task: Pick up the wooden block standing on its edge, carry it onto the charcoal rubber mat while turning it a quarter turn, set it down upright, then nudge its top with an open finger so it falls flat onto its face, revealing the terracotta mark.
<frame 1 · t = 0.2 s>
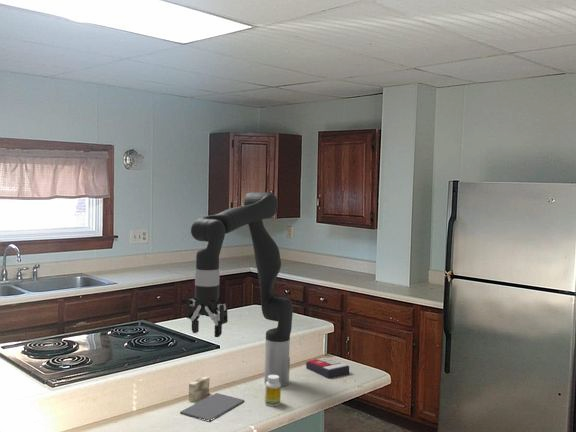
hand: (206, 334, 177), 29 cm above the table, fingers open, 8 cm apart
supplement bottle: (272, 404, 197), on the table
red and black box: (327, 372, 233), on the table
wooden block: (199, 396, 201), on the table
mat: (213, 407, 192), on the table
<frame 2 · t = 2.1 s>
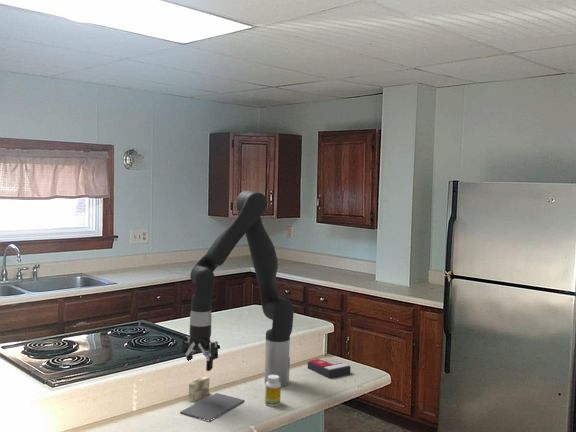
hand: (199, 368, 200), 10 cm above the table, fingers open, 8 cm apart
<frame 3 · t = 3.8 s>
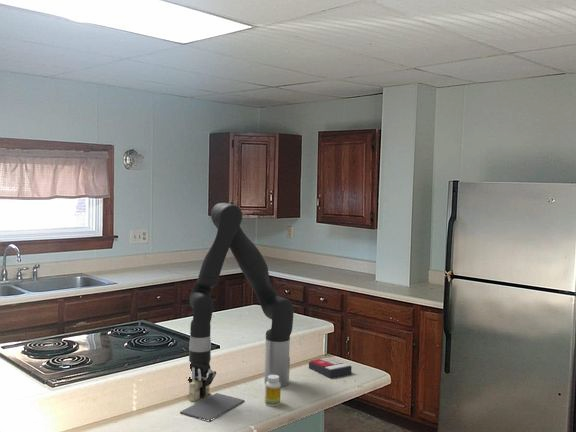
hand: (199, 395, 201), 0 cm above the table, fingers closed on wooden block, 2 cm apart
wooden block: (199, 396, 201), on the table, touching gripper
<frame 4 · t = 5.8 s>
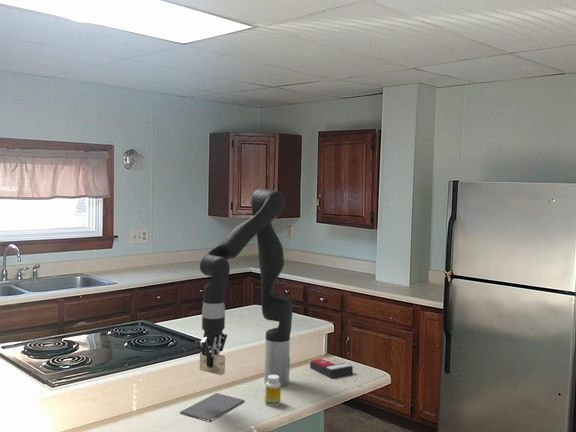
hand: (212, 365, 190), 15 cm above the table, fingers closed on wooden block
wooden block: (212, 371, 190), point 13 cm above the table, touching gripper
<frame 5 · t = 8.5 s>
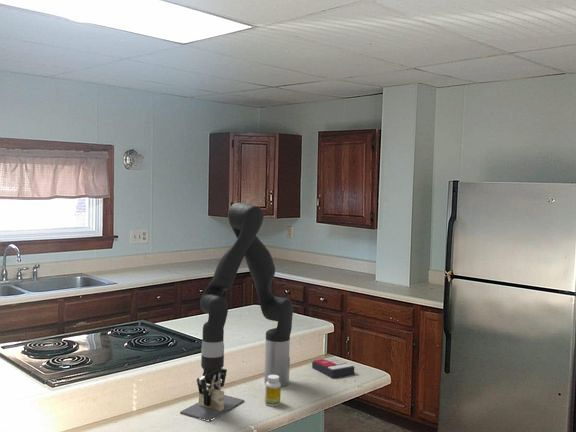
hand: (211, 402, 191), 2 cm above the table, fingers open, 4 cm apart
wooden block: (211, 406, 191), point 1 cm above the table, touching mat
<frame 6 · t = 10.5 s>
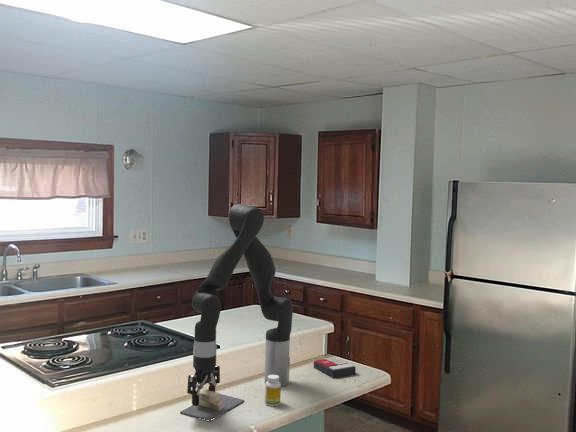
hand: (203, 401, 187), 4 cm above the table, fingers open, 8 cm apart
wooden block: (211, 405, 191), point 1 cm above the table, tilted 25°, touching mat
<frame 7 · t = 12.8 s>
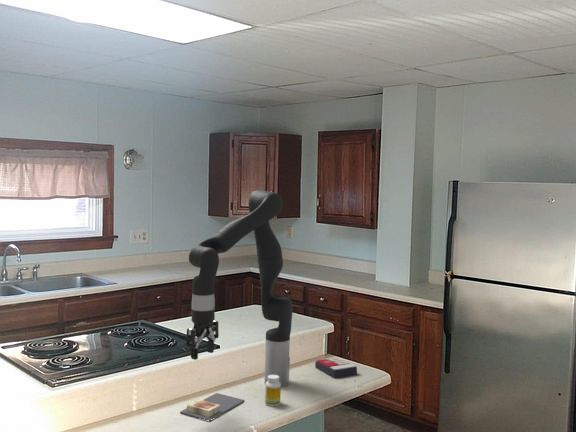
hand: (202, 355, 187), 19 cm above the table, fingers open, 8 cm apart
wooden block: (209, 405, 190), point 2 cm above the table, tilted 90°, touching mat
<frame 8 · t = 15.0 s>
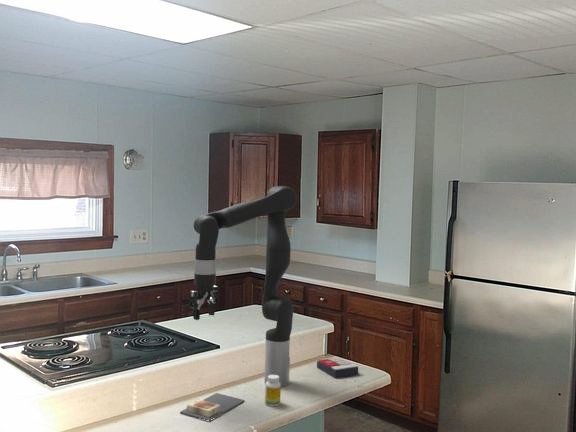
hand: (204, 317, 201), 28 cm above the table, fingers open, 8 cm apart
at the end: wooden block tilted 90°; wooden block inside the target area on the mat (2.3 cm from its centre), point 1.6 cm above the mat's base; the gripper is holding nothing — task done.
